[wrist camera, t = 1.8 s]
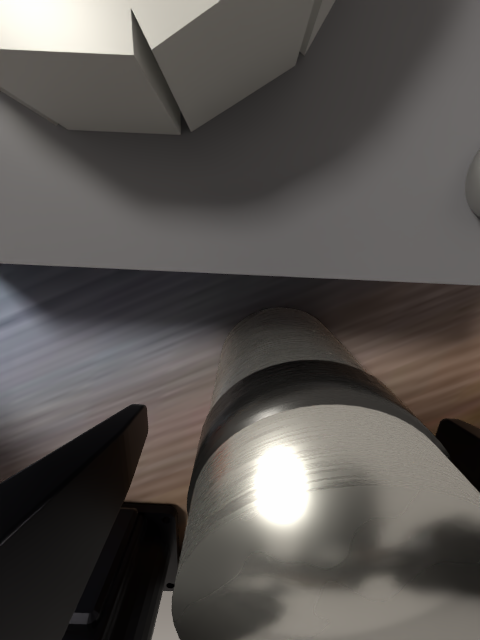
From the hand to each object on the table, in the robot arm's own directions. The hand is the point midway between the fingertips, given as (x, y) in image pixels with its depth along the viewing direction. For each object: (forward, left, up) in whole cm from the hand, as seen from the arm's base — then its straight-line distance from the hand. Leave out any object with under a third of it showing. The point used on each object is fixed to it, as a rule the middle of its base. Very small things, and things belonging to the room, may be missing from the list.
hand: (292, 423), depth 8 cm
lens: (0, 0, -4) cm, 4 cm away
